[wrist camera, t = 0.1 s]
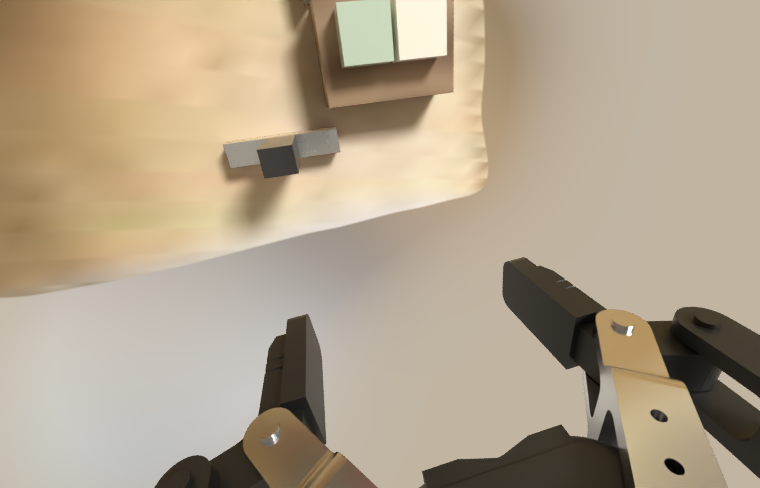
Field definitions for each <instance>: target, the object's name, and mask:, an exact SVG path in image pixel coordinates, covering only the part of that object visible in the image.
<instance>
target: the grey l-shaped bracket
mask: <svg viewBox="0 0 760 488" xmlns="http://www.w3.org/2000/svg"><path fill="white" fill-rule="evenodd" d="M223 146H224V149H225V152H226V155H227V158H228V161H229V164H230V167H231V168H236V167H243V166H250V165H256V164H261V167H262V171H263V174H264V178H272V177H278V176H285V175H291V174H297V173H299V167H300V158H303V157H310V156H317V155H323V154H330V153H337V152H340V147H339V141H338V135H337V129H336V128H335V127H329V128H322V129H315V130H307V131H300V132H293V133H286V134H278V135H271V136H264V137H256V138H249V139H242V140H235V141H228V142H226V143H225V144H223Z"/></svg>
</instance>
